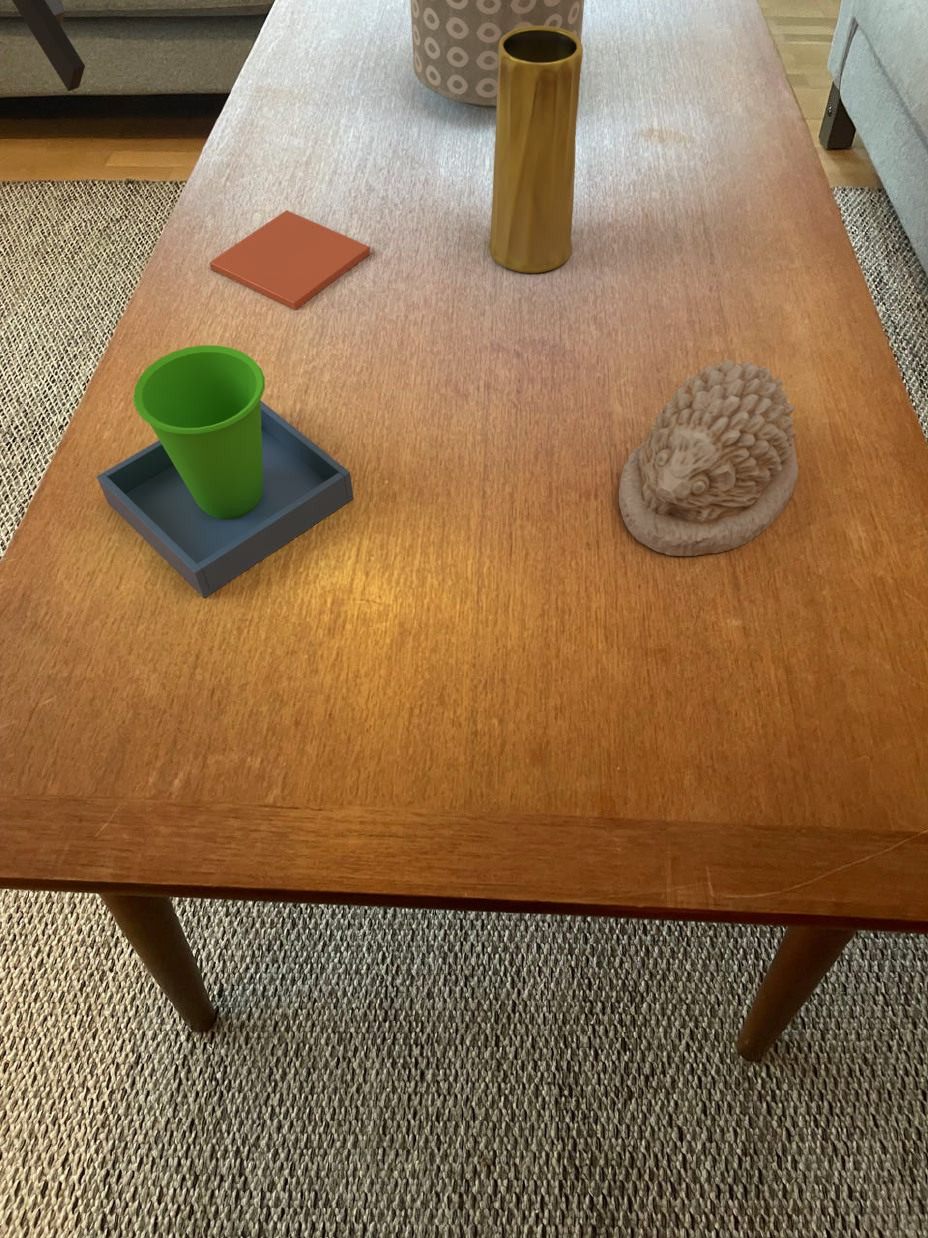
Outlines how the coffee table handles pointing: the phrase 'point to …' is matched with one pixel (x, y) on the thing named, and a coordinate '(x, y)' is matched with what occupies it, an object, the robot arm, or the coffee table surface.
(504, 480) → the coffee table surface
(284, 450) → the blue tray
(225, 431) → the cup
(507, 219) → the vase
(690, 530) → the sculpture
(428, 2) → the planter
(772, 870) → the coffee table surface
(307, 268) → the terracotta coaster
